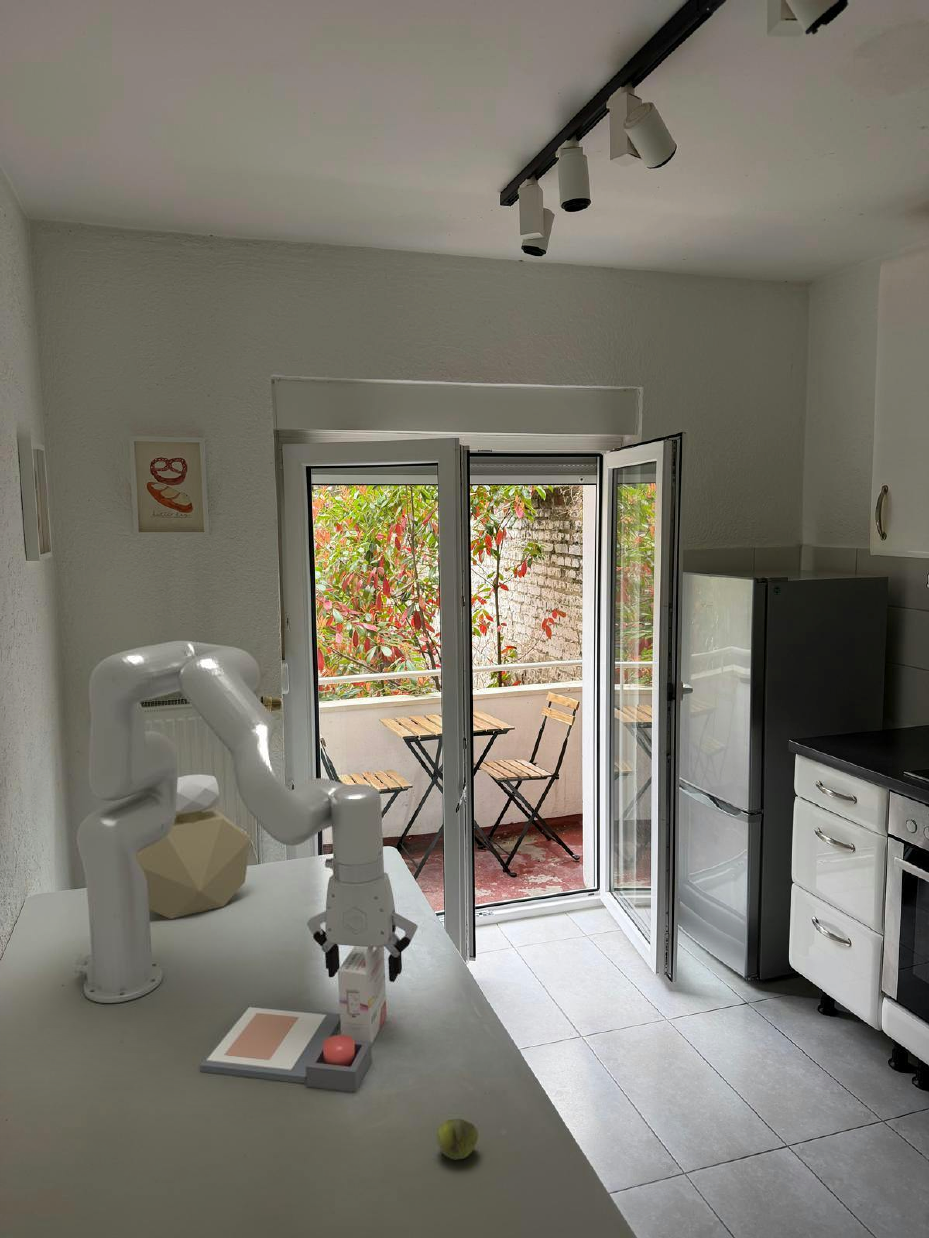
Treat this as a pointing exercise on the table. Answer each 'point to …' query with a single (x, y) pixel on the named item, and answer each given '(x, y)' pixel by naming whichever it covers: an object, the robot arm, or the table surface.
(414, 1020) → the table surface
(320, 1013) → the sketch board
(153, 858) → the perfume bottle
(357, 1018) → the ink cartridge box
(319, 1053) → the button housing
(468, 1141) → the lime
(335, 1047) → the button
